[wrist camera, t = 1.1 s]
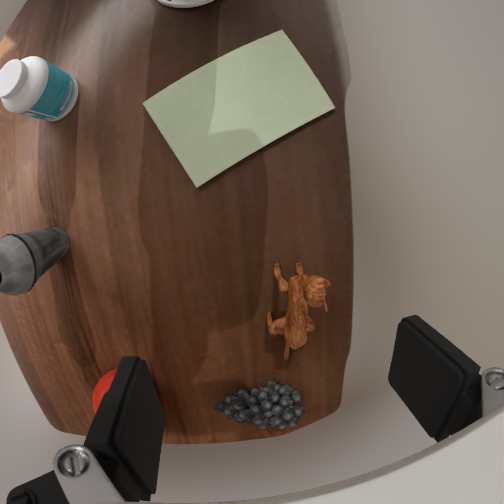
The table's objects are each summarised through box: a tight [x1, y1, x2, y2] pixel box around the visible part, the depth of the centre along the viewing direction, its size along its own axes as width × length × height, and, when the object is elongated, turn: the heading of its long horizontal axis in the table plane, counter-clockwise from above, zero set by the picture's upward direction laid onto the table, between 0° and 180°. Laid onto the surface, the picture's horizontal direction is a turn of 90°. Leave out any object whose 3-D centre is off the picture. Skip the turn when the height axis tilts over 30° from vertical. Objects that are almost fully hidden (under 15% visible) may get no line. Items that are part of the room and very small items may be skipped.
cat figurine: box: [267, 263, 330, 361], centre depth 36 cm, size 18×7×14 cm, turn 1°
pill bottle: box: [0, 56, 78, 121], centre depth 25 cm, size 8×7×14 cm
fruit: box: [214, 380, 305, 430], centre depth 43 cm, size 9×8×15 cm
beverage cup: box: [0, 227, 70, 296], centre depth 27 cm, size 7×7×20 cm
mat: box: [143, 30, 335, 188], centre depth 35 cm, size 14×22×1 cm, turn 122°
